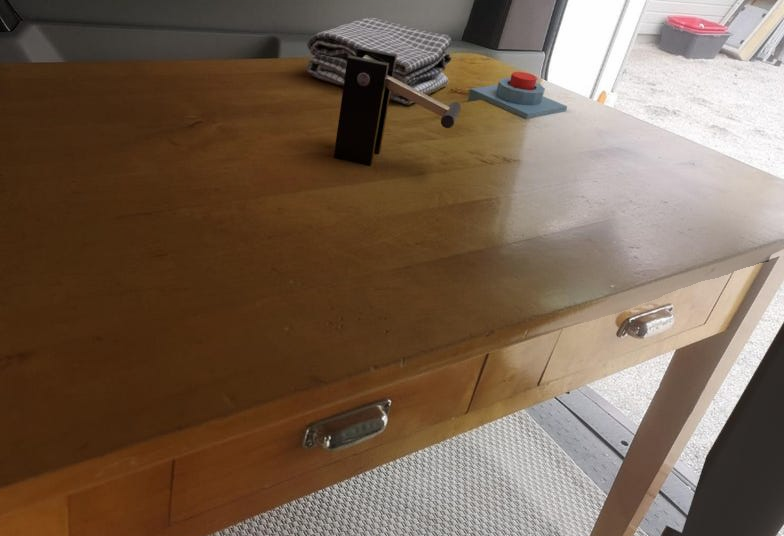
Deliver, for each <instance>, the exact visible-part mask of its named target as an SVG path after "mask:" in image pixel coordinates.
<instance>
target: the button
mask: <svg viewBox="0 0 784 536" xmlns="http://www.w3.org/2000/svg"><path fill="white" fill-rule="evenodd" d="M510 78H511V79H510V83H509V85H510V86H512V87H515V88H518V89H523V90H534V87H535V84H536V83H537V79H538V77H537V76H535V75H534V74H532V73H530V72H529V73H528V72H524V71H513V72H512V73H511V75H510Z"/></svg>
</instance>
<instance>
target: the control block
mask: <svg viewBox="0 0 784 536" xmlns="http://www.w3.org/2000/svg"><path fill="white" fill-rule="evenodd" d="M510 79H511V77H504V78H500V80H499V81H498V83H497V84H491V85H485V86H478V87H472V88H470V89H469V93H468V98H467V103H469V102H473V101H481V100H483V101H485V102H487V103H489V104H492V105H494V106H496V107H499V108H500V109H503V110H505V111H507V112H510V113H512V114H513V115H516V116H518V117H521V118H523V119H525V120H529V119H534V118H535V119H536V118H539V117H544V116H549V115H555V114H559V113H564V112H567V109H568V105H565V104H563V103H560V102H559V101H556V100H553V99H551V98H548V97H546V96H545V95H544V94H545V90H546V88H545V87H544V86H543V85H542V84H540V83H537V82H536V84H535V87H534V90H523V89H518V88H515V87H512V86H510V85H509V83H510Z"/></svg>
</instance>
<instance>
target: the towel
mask: <svg viewBox="0 0 784 536" xmlns="http://www.w3.org/2000/svg"><path fill="white" fill-rule="evenodd" d="M306 45H307V48H308V50H309V52H310V54H311V55H312V56H314V57H311V58H310V59H309V60H308V62H307V65H306V68H305V71H306V72H307V73H309V74H310V75H312V76H313V77H315V78H317V79H318V80H321V81H324V82H329V83H332V84H335V85H336V86H337V85H338V86H342V87H343V86H344V79H345V72H346V65H347V58H348V57H349V56H355V57H356V53H357V49H358V48H359V47H362V48H367V49H372V50H377V51H382V52H387V53H392V54H397V59H396V65H395V71H394V76H393V78H395V79H397V80H399V81H400V82H402V83H404V84H406V85H408V86H410V87H412V88H414V89H416V90H418V91H420V92H422V93H423V94H425V95H427V96H429V95H431V93H432V94H433V93H435V92H437V91H439V90H440V89H442V88H444V87H446V86H447V85H448V84H449V82H450V81H449V78H448V76H447V75H445V74H444V73H442V72H444V71H445V70H446V67H447V65H448V64H449V63H450V62H451V61H452V57H451V54H450V53H448V52H446V51H447V49H448V48H450V47H451V45H452V39H451V37H450V36H449V35H448V34H443V33H441V34H440V33H436V32H430V31H425V30H423V29H417V28H414V27H410V26H406V25H402V24H399V23H395V22H391V21H387V20H383V19H380V18H375V17H364V18H361V19H358V20H353V21H351V22H349V23H343V24H341V25H339V26H337V27H335V28H330V29H326V30H323V31H319V32H318V33H315V34H313V36H311V37H310V38H309V40H308V42H306ZM389 100H390V101H394V102H397V103H400V104H403V105H405V106H406V105H407V106H409V105H412V104H415V103H414V102H413V101H411V100H409V99H407V98H405V97H403V96H401V95H399V94H397V93H395V92H393V91H391V93H390V99H389Z"/></svg>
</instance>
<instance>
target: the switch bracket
mask: <svg viewBox="0 0 784 536" xmlns="http://www.w3.org/2000/svg"><path fill="white" fill-rule="evenodd" d="M365 55H368V56H370V57H372V58H374V59H376V60H378V61H375V60H370V59H365V58H363V57H364V56H365ZM396 59H397V54H392V53H387V52H382V51H377V50H372V49H367V48H362V47H359V48H358V49H357V53H356V57H355V56H349V57H348V58H347V65H346V72H345V79H344V86H343V85H342V87H343V88H342V93H341V102H340V107H339V117H338V124H337V130H336V138H335V144H334V150H333V151H334V152H333V159H337V160H340V161H345V162H349V163H353V164H358V165H363V166H366V167H371V166H372V165H373V162H374V155H379V154H380V153H381V150H382V143H383V139H384V133H385V127H386V121H387V117H388V110H389V105H390V100H391V99H390V93H391V90H390V89H388V88H386V87H385V85H386V79H387V75H389V76H391V77H393V76H394V71H395V65H396Z"/></svg>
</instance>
